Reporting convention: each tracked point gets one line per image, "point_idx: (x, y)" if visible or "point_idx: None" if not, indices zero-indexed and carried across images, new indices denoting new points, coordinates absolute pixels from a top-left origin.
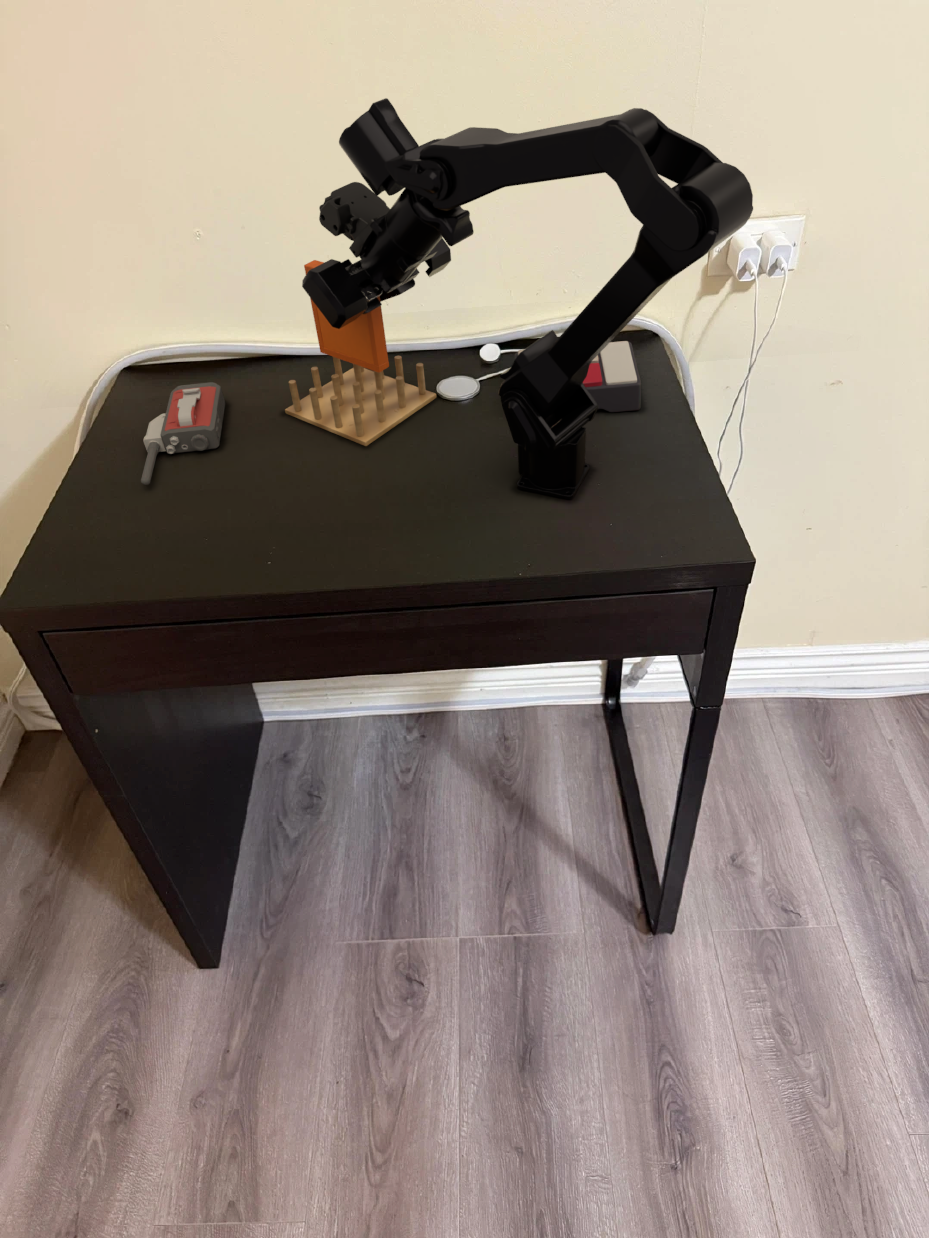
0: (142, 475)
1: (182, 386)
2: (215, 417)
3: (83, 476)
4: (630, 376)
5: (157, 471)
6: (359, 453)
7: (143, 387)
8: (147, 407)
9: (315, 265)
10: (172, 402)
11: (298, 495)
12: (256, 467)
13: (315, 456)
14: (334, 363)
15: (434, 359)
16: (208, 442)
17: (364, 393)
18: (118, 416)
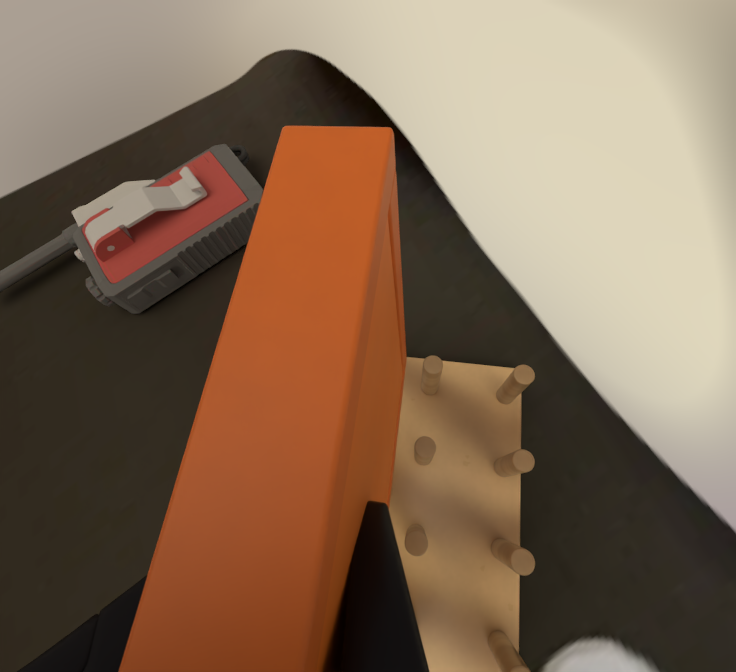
0: None
1: (225, 151)
2: (152, 270)
3: (31, 192)
4: None
5: (57, 273)
6: None
7: (277, 89)
8: (226, 133)
9: (303, 190)
10: (173, 173)
11: (13, 581)
12: (95, 423)
13: (156, 519)
14: (422, 369)
15: (695, 541)
16: (112, 302)
17: (417, 473)
18: (190, 119)
